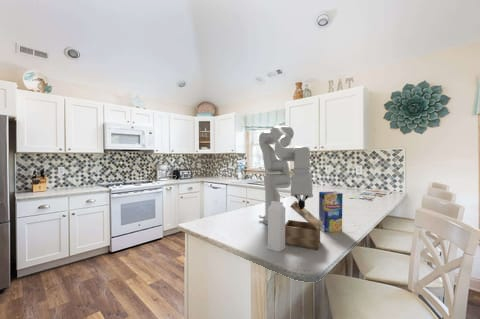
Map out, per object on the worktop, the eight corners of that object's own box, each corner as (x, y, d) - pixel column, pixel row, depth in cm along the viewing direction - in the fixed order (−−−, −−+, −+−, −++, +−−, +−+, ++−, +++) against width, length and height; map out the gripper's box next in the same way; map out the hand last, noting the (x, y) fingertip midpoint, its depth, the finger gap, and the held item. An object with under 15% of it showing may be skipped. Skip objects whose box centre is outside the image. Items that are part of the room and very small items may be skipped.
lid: (290, 206, 109) (292, 203, 109) (294, 201, 121) (296, 199, 120) (317, 230, 105) (320, 227, 104) (319, 223, 116) (322, 220, 116)
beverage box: (342, 231, 132) (342, 193, 131) (324, 232, 130) (324, 193, 130) (335, 227, 139) (335, 191, 138) (318, 228, 137) (319, 191, 137)
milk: (273, 245, 111) (274, 199, 110) (285, 248, 107) (285, 201, 107) (267, 249, 106) (267, 201, 106) (279, 252, 102) (279, 203, 102)
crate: (283, 244, 111) (283, 226, 111) (288, 236, 122) (288, 219, 122) (318, 250, 105) (318, 230, 105) (320, 241, 116) (320, 223, 116)
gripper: (285, 171, 113) (285, 208, 113) (317, 172, 107) (316, 211, 107) (288, 171, 120) (287, 205, 120) (318, 171, 114) (317, 208, 114)
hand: (301, 208), depth 113 cm, fingers closed
